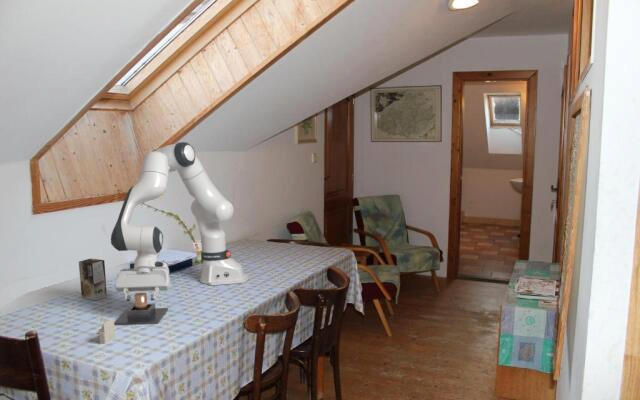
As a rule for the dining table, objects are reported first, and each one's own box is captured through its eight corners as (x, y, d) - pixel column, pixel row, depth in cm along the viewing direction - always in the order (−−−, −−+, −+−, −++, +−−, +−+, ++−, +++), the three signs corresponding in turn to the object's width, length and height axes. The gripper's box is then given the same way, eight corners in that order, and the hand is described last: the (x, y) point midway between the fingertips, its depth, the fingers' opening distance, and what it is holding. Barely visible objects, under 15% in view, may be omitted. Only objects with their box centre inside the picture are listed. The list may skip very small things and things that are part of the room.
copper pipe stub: (149, 313, 213) (147, 292, 212) (146, 316, 209) (144, 295, 208) (137, 313, 213) (136, 293, 212) (134, 317, 209) (132, 296, 208)
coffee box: (107, 297, 239) (105, 259, 238) (95, 301, 234) (92, 263, 232) (93, 294, 244) (91, 257, 242) (80, 298, 239) (78, 261, 237)
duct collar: (168, 309, 219) (167, 300, 219) (158, 323, 203) (157, 313, 203) (126, 311, 219) (126, 301, 218) (113, 325, 203) (112, 315, 203)
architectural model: (96, 344, 186) (94, 322, 185) (108, 337, 192) (107, 316, 192) (105, 345, 185) (103, 323, 184) (117, 337, 192) (116, 316, 191)
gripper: (116, 264, 215) (109, 296, 207) (170, 263, 216) (165, 295, 208) (120, 273, 220) (114, 305, 212) (173, 271, 221) (169, 303, 213)
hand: (140, 300), depth 210 cm, fingers open, 8 cm apart
